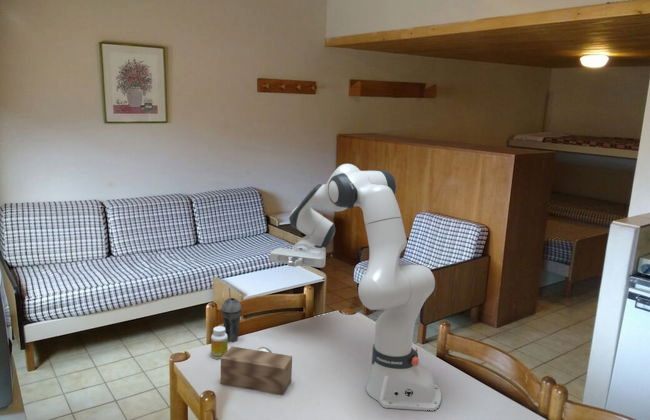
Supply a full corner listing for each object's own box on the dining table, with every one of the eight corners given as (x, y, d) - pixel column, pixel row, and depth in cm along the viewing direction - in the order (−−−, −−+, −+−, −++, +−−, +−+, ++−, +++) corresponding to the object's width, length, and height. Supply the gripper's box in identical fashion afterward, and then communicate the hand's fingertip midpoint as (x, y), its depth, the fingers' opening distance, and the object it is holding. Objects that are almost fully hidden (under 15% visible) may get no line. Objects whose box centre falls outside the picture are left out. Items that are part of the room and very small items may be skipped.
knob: (272, 362, 158) (272, 347, 157) (262, 376, 150) (262, 360, 149) (257, 359, 160) (257, 344, 159) (246, 373, 151) (246, 358, 150)
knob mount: (291, 381, 154) (292, 356, 153) (283, 395, 147) (284, 368, 145) (231, 370, 159) (231, 346, 157) (220, 383, 151) (220, 358, 150)
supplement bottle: (223, 360, 165) (223, 333, 163) (208, 358, 166) (208, 331, 164) (230, 352, 170) (230, 326, 168) (215, 350, 171) (215, 324, 169)
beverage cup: (245, 338, 181) (246, 286, 177) (231, 346, 175) (232, 292, 171) (230, 333, 185) (231, 281, 181) (216, 340, 179) (216, 287, 175)
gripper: (276, 242, 187) (263, 252, 174) (329, 248, 182) (320, 258, 169) (276, 258, 188) (263, 269, 175) (328, 264, 184) (319, 276, 171)
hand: (291, 264), depth 172 cm, fingers closed
